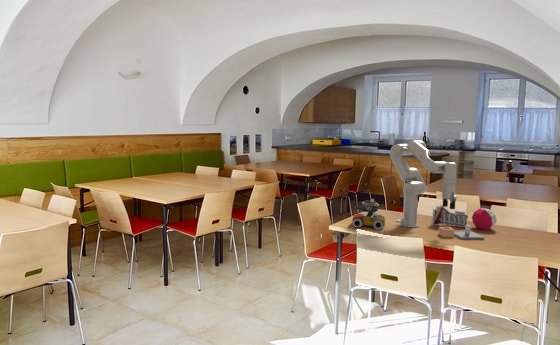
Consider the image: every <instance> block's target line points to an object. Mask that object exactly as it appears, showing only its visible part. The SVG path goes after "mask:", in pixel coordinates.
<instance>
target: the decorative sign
mask: <svg viewBox="0 0 560 345" xmlns="http://www.w3.org/2000/svg"><path fill="white" fill-rule="evenodd" d="M468 219H469V215H468V214H466V212H465V211H462V210H461V211H460V210H455V209H454V212H453V211H449V210H448V209H447V208H446V207H443V204H440V205H436V206H435V208H433V209H432V216H431V223H430V225H431V226H432V225H435V226H439V225H442V226H443V225H446V226H451V227H453V226H455V227H461V228H465V226H466V225H468Z"/></svg>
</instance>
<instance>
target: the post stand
mask: <svg viewBox="0 0 560 345" xmlns="http://www.w3.org/2000/svg"><path fill="white" fill-rule="evenodd" d="M454 237H456V238H458V239H460V240H468V241H469V240H474V241H475V240H485V237H484V236H483V235H481V234H478V233H476V232H474V231H471V225H470V224H467V225H466V226H465V227H464V231H454Z"/></svg>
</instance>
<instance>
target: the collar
mask: <svg viewBox="0 0 560 345" xmlns="http://www.w3.org/2000/svg"><path fill="white" fill-rule="evenodd" d="M454 232H455V228H452V227H450V226H439V227H438V236H441V237H442V238H454V237H455V236H454Z"/></svg>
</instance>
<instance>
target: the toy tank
mask: <svg viewBox="0 0 560 345" xmlns="http://www.w3.org/2000/svg"><path fill="white" fill-rule="evenodd" d="M361 205H362V206H359V205H358V206H354V210H361V211H362V212H363V213H364V212H365V213H367V214H363V213H359V212H358V213H357V214H354V215H353V217H352V222H351V224H352V227H354V226H356V227H360V228H362V226H370V227H373V228H374V229H375V230H377V231H379V230H382V229H383V228H384V227H385V226H386V225H385V224H386V217H385V216H383V215H381V214H378V213H377V212H378V211H379V207H380V204H379V203H378V202H376V201H375V199H374V198H371V199H370V200H367V199H366V200H365V201H362V202H361Z"/></svg>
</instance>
